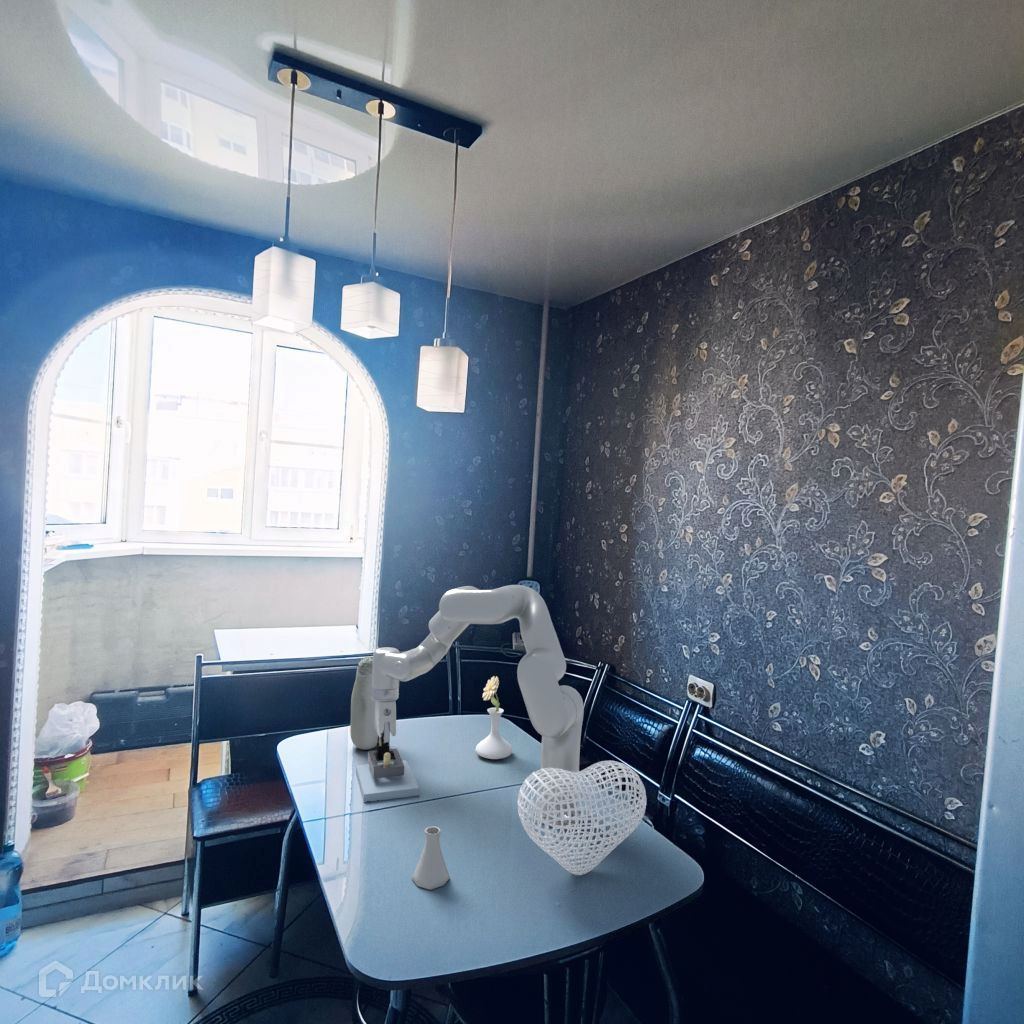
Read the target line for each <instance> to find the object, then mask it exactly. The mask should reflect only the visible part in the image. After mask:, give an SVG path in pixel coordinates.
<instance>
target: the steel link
mask: <svg viewBox="0 0 1024 1024" xmlns="http://www.w3.org/2000/svg"><path fill="white" fill-rule="evenodd" d="M389 753H390V755H391V758H390V761H391V760H392V762H393V763H394V765H387V766H378V763H379V762H381V761H383V762H384V760H378V759H377V754H378V750H369V751H367V762H368V763H367V764H369V766H370V769H371V772H372V776H373V779H376V778H384V777H393V776H402V775H404V764H403V762H402V761H403V759H402V757H401V755H400V753H399V751H398V748H396V747H395V748H390V749H389Z"/></svg>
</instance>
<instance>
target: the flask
mask: <svg viewBox="0 0 1024 1024" xmlns="http://www.w3.org/2000/svg"><path fill="white" fill-rule="evenodd" d="M441 833H442V829H440V827H439V826H435V825H432V826H427V827H426V828H425V829H424V834H425V841H424V846H423V849H422V852H421V855H420V857H419V860H418V863H417V864H416V867H415V869H414V871H413V873H412V876H411V880H412V881H413V882H414V883H415V885H416V887H419V888H424V889H426V890H430V891H431V890H434V889H437V888H439V887H442V886H443V887H444V886H445V885H446V883H447V882H448V880H449V879H451V876H450V874H449V871H448V867H447V865H446V863H445V858H444V855H443V852H442V848H441V843H440V838H441V837H440V836H441V835H440V834H441Z"/></svg>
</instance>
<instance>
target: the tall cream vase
mask: <svg viewBox="0 0 1024 1024" xmlns="http://www.w3.org/2000/svg"><path fill="white" fill-rule="evenodd" d="M372 666H373V656H365V657H363V658H362V659H360V661H359V662H358V663H357V668H356V674H355V681H354V684H353V688H352V691H351V692H352V693H351V696H350V697H351V699H350V725H349V726H350V729H349V732H350V739H351V741H352V743H353V745H354V746H355V747H356V748H357V749H359V750H363V751H366V750H371V749H373V748H375V747H377V732H376V730H375V726H374V710H375V701H374V700H372V699H371V692H372Z"/></svg>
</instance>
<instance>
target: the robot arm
mask: <svg viewBox="0 0 1024 1024" xmlns="http://www.w3.org/2000/svg"><path fill="white" fill-rule="evenodd" d="M438 609H439V610H438V611H437V612H436V613H435V614H434V615H433V617H431V619H430V620H429V622H428V630H429V632H430V633H429V634H428V635H427V636H426V638H425V639H424V640H423V641H421V643H420V644H419V645H418V646H417V647H416V648H415V647H414V648H412V649H409V650H406V651H404V652H401V653H400V651H399V649H398V648H395V647H389V646H388V647H384V646H383V647H379V648H376V649H375V650H374V651H373V652H372V653H373V654H372V657H373V666H372V692H371V699H372V700H374V701H375V710H374V726H375V730H376V732H377V746H375V747H376V750H378V754H377V759H378V760H384V754H385V753H386V752H388V753H389V749H391V748H390V747H391V746H390V738H391V736H392V737H395V736H396V735H397V704H396V701H397V700H398V699H399V695H400V693H399V692H400V690H399V689H400V682H408V681H410V680H413V679H416V678H417V677H419V676H421V675H424V674H426V673H428V672H429V671H431V670H432V669H433V668H434V667H435V666H436V665H437V664H438V663H439V662H440V661H441V660H442V659H443V658H444V656H446V655H447V653H448V652H449V650H450V649H451V647H452V645H453V642H454V641H455V640H456V639H457V638H458V637H459V636H460V635H461V634H462V633H463V632H464V631H465V630H466V629H467V628H468V627H469V625H472V624H473V625H500V624H503V623H505V622H508V621H510V620H512V619H517V620H518V622H519V628H520V629H519V631H520V636H521V639H522V641H523V645H524V647H525V652H526V654H525V655H524V656H522V658H521V659H520V661H519V662H518V665H517V670H516V674H517V682H518V686H519V689H520V692H521V695H522V698H523V701H524V704H525V708H526V711H527V714H528V718H529V719H530V723H531V724H532V727H533V728H534V729H535V732H537V734H540V735H541V747H540V749H541V751H540V769H542V768H558V769H563V770H567V771H571V772H579V771H580V754H581V753H580V752H581V751H580V750H581V736H582V726H583V721H584V713H585V710H584V709H585V707H584V702H583V697H582V696H581V694H580V693H579V692H578V690H577V689H576V688H575V687H574V688H573V686H569V685H566V684H565V685H560V684H559V681H560V680H561V679H562V678H563V677H564V675H565V673H566V672H567V671H566V670H567V661H566V658H565V656H564V655H565V654H564V653H563V650H562V647H561V644H560V640H559V638H558V635H557V632H556V630H555V627H554V623H553V622H552V619H551V618H552V617H551V615H550V611H549V609H548V606H547V604H546V602H545V600H544V598H543V597H542V596H541V594H540V593H538V592H537V591H536V590H535V589H533V588H532V587H529V586H526V585H522V584H521V585H520V584H510V585H504V586H501V587H497V588H493V589H480V588H477V587H475V586H473V585H466V586H460V587H459V586H458V587H456V588H455V587H454V588H452V589H449V590H447V591H446V592H444V594H443V595H442V597H441V598H440V600H439V604H438ZM549 772H552V771H549ZM559 774H561V773H559ZM549 775H551V774H549ZM546 776H547V775H544V776H542V777H546ZM574 776H575V775H574ZM577 777H578V776H577ZM552 778H553V777H552ZM558 778H559V776H555V777H554V779H558ZM562 778H563V777H562ZM572 779H574V778H572ZM548 781H550V780H548V779H547V782H548ZM561 781H562V780H561ZM566 781H569V780H566ZM543 782H544V783H545V780H543ZM573 783H574V782H573ZM540 784H541V783H540ZM559 784H562V783H561V782H559ZM575 784H577V782H575ZM547 785H551V783H549V784H547ZM554 785H555V784H554V782H553V784H552V786H554ZM572 786H573V785H570V787H572ZM540 787H541V786H540ZM560 787H562V786H560ZM564 787H566V785H564ZM549 788H550V787H549ZM576 789H577V790H578V786H577V787H576ZM543 790H544V787H542V788H541V789H540V790H539V792H543ZM546 790H547V789H546V788H545V791H546ZM564 790H568V789H564ZM564 790H563V791H564ZM570 790H573V788H572V789H570ZM551 791H552V792H553V793H554V794H555V791H556V788H553V789H551ZM558 792H560V790H559V789H557V793H558ZM546 793H549V791H548V792H546ZM572 793H573V792H572ZM564 794H565V795H567V792H565V793H564ZM569 794H570V792H569ZM540 795H541V794H540ZM558 795H561V794H558ZM548 797H549V795H545V794H544V798H545V799H546V800H547V799H548ZM550 797H551V795H550ZM556 797H557V798H558V800H559V801H561V797H559V796H556ZM554 798H555V797H553V798H551V799H550V801H549V802H554ZM571 798H572V797H571V796H569V799H571ZM575 798H578V796H577V794H576V795H575ZM562 800H565V798H564V797H563V798H562ZM539 801H542V798H540V800H539ZM572 801H573V800H572ZM557 802H558V801H557V800H556V803H557ZM565 802H566V801H565ZM569 802H570V801H569ZM543 804H544V803H543ZM551 805H552V806H553V805H554V804H551ZM569 805H570V808H574V803H570V804H569ZM547 806H548V804H545V806H544V808H543V810H544V811H547ZM576 806H577V808H579V807H580V804H578V802H576ZM538 807H539V808H541V807H542V803H538ZM562 807H563V809H567V804H562ZM533 808H534V806H533ZM550 808H551V806H550V805H549V810H550ZM535 809H536V808H535ZM555 809H556V810H557V811H558V810H560V805H559V804H557V805H556V806H555ZM553 810H554V809H553V808H552V810H551V811H553ZM532 812H533V810H532ZM535 812H536V811H534V815H533V816H535ZM549 814H551V815H553V813H549ZM538 815H539V812H537V818H538ZM555 815H556V813H555ZM580 815H581V810H577V816H580ZM546 816H547V815H546V814H544V813H543V815H542V819H543V820H546ZM574 816H575V810H574V811H571V817H574ZM557 817H561V815H560V812H558V813H557ZM540 818H541V815H540ZM564 818H568V812H564ZM578 818H581V817H578ZM548 820H553V818H552V817H550V816H549V819H548ZM578 822H579V823H580V822H581V820H578ZM548 823H551V824H553V823H554V821H552V822H548ZM572 824H575V820H571V825H572ZM556 825H558V826H561V820H559V821H556ZM566 825H569V820H564V822H563V826H566Z"/></svg>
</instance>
